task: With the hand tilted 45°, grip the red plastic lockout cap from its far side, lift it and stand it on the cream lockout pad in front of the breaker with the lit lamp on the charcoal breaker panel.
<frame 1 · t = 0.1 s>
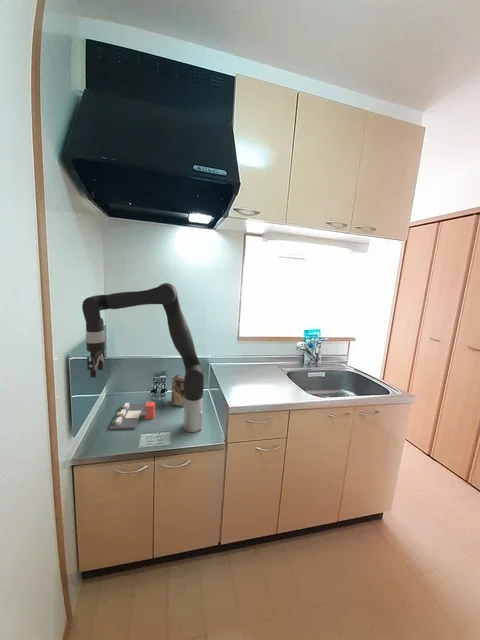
hand: (97, 373, 123), 29 cm above the worktop, tool pointing down, fingers open, 8 cm apart
lockout cap: (149, 416, 142), on the worktop
coffee box: (180, 403, 158), on the worktop
breaker panel: (128, 416, 140), on the worktop
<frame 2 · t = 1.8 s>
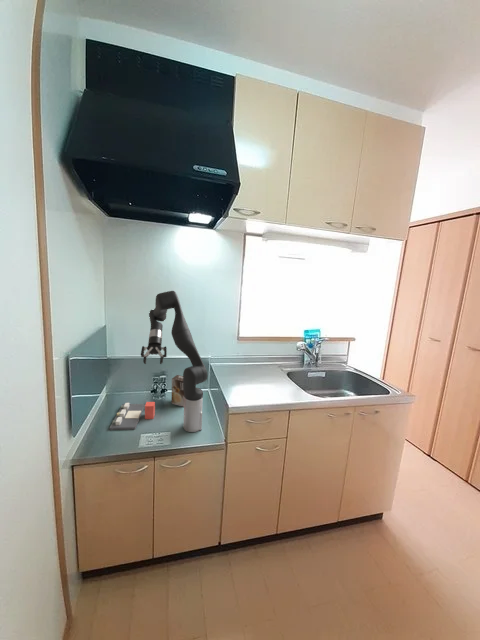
hand: (152, 363, 150), 25 cm above the worktop, tool tilted 45°, fingers open, 8 cm apart
nothing on the worktop moved.
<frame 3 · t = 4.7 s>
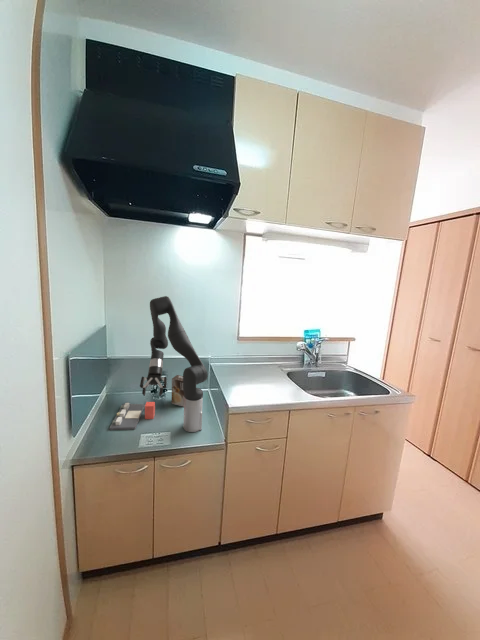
hand: (152, 395, 146), 9 cm above the worktop, tool tilted 45°, fingers open, 8 cm apart
nothing on the worktop moved.
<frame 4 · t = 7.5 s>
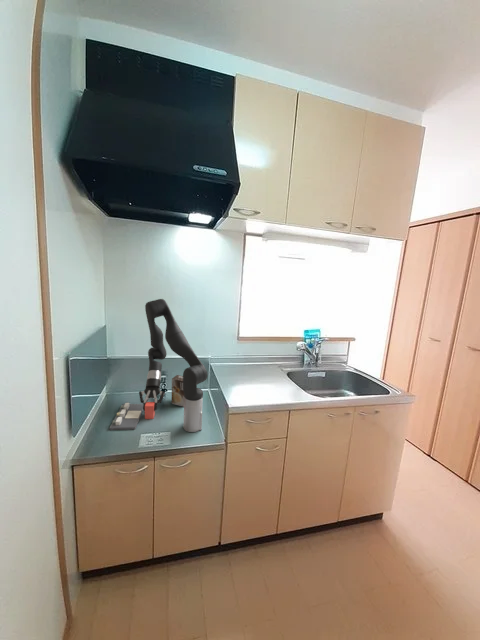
hand: (149, 410, 140), 4 cm above the worktop, tool tilted 45°, fingers closed on lockout cap, 4 cm apart
lockout cap: (149, 416, 142), on the worktop, touching gripper
everything else where it was.
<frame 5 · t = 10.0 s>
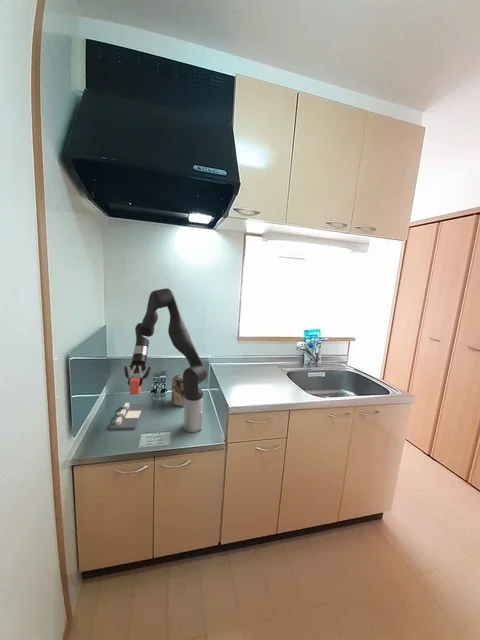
hand: (134, 385, 137), 18 cm above the worktop, tool tilted 45°, fingers closed on lockout cap, 4 cm apart
lockout cap: (135, 392, 138), point 14 cm above the worktop, touching gripper
everything else where it was.
when the fingers open (7 cm above the worktop, at t = 13.0 s): lockout cap drops 1 cm, resting on breaker panel.
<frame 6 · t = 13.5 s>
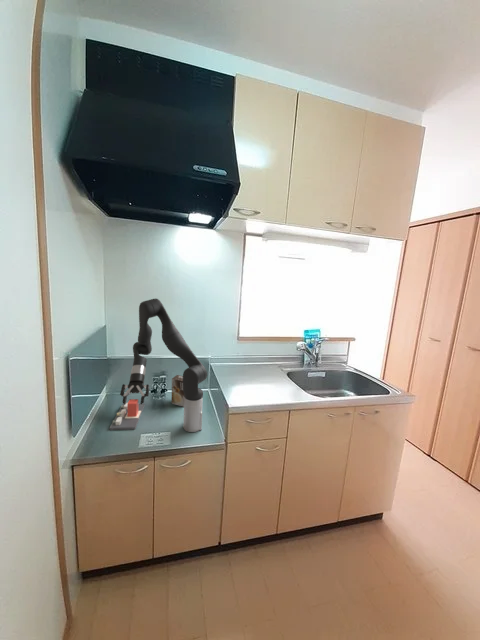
hand: (132, 404, 139), 8 cm above the worktop, tool tilted 45°, fingers open, 8 cm apart
lockout cap: (133, 414, 141), point 1 cm above the worktop, touching breaker panel
everything else where it was.
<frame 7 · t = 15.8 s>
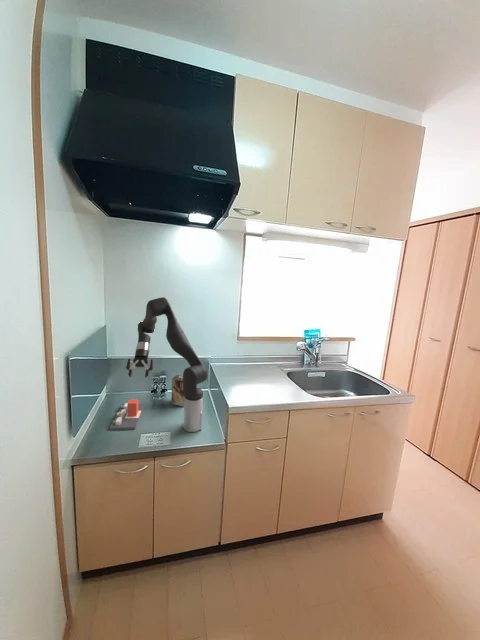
hand: (138, 376, 149), 17 cm above the worktop, tool tilted 45°, fingers open, 8 cm apart
nothing on the worktop moved.
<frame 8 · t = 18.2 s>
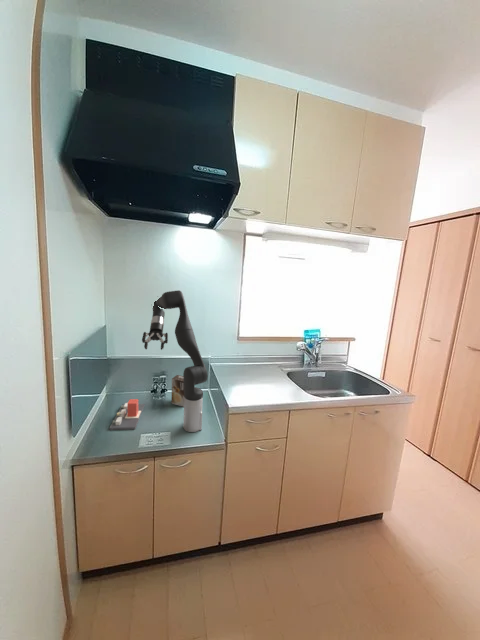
hand: (153, 349, 151), 33 cm above the worktop, tool tilted 45°, fingers open, 8 cm apart
nothing on the worktop moved.
at the end: lockout cap inside the target area on the breaker panel (0.1 cm from its centre), point 1.5 cm above the breaker panel's base; lockout cap tilted 0°; the gripper is holding nothing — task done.
